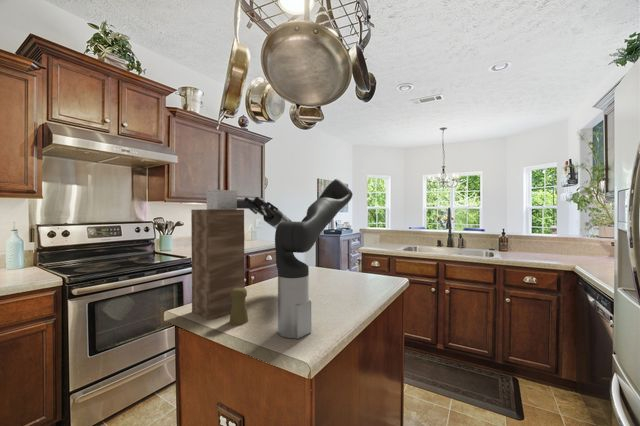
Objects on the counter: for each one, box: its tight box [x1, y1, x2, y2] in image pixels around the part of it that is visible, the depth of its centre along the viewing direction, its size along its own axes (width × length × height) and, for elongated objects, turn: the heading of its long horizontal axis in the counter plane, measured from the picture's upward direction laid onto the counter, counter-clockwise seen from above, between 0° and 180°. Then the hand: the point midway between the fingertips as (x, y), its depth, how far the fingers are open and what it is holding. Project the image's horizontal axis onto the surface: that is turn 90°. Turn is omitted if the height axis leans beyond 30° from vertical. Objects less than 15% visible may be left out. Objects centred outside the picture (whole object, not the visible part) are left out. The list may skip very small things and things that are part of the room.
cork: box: [229, 287, 249, 326], centre depth 97 cm, size 6×6×11 cm
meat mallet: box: [206, 189, 262, 210], centre depth 114 cm, size 7×22×7 cm, turn 141°
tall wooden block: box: [190, 208, 245, 320], centre depth 108 cm, size 12×14×37 cm
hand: (250, 199), depth 119 cm, fingers open, 6 cm apart
